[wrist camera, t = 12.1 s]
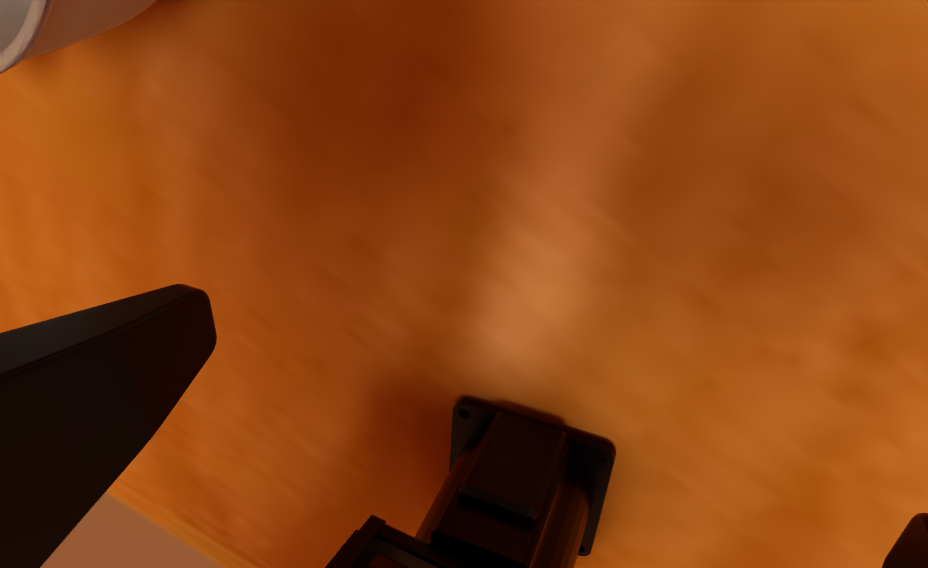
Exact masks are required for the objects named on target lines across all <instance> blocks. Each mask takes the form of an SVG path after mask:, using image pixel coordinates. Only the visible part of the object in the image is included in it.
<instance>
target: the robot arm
mask: <svg viewBox="0 0 928 568" xmlns="http://www.w3.org/2000/svg"><path fill="white" fill-rule="evenodd" d="M216 339H217V335H216V329H215V324H214V319H213V314H212V309H211V304H210V299H209V297H208V295H207V294H206V292H204V291H203V290H201V289H197V288H194V287H191V286H188V285H184V284H175V285H171V286H167V287H164V288H160V289H157V290H153V291H149V292H146V293H142V294H139V295H135V296H132V297H128V298H124V299H121V300H117V301H114V302H110V303H107V304H103V305H99V306H96V307H92V308H89V309H85V310H82V311H78V312H74V313H71V314H67V315H64V316H60V317H56V318H53V319H49V320H46V321H42V322H39V323H35V324H31V325H28V326H24V327H21V328H17V329H14V330H10V331H6V332H3V333H0V568H40V567H41V566H42V565H43V564H44V562H45V561H46V560H47V559H48V558H49V557H50V556H51V554H52V553H53V552H54V551H55V550H56V548H57V547H58V546H59V545H60V544H61V543H62V542H63V540H64V539H65V538H66V537H67V536H68V535H69V534H70V532H71V531H72V530H73V529H74V528H75V527H76V525H77V524H78V523H79V522H80V521H81V519H82V518H83V517H84V516H85V515H86V514H87V513H88V511H89V510H90V509H91V508H92V507H93V506H94V505H95V503H96V502H97V501H98V500H99V499H100V497H101V496H102V495H103V494H104V493H105V492H106V491H107V489H108V488H109V487H110V486H111V485H112V484H113V483H114V481H115V480H116V479H117V478H118V477H119V476H120V474H121V473H122V472H123V471H124V470H125V469H126V467H127V466H128V465H129V464H130V463H131V462H132V460H133V459H134V458H135V457H136V456H137V455H138V454H139V452H140V451H141V450H142V449H143V448H144V446H145V445H146V444H147V443H148V442H149V440H150V439H151V438H152V437H153V435H154V434H155V433H156V431H157V430H158V429H159V427H160V426H161V425H162V423H163V422H164V421H165V419H166V418H167V416H168V415H169V413H170V412H171V411H172V409H173V408H174V406H175V405H176V404H177V402H178V401H179V399H180V398H181V396H182V395H183V394H184V392H185V391H186V389H187V388H188V387H189V385H190V384H191V382H192V381H193V379H194V378H195V377H196V375H197V374H198V372H199V371H200V370H201V368H202V367H203V365H204V364H205V362H206V361H207V360H208V358H209V357H210V355H211V354H212V352H213V350H214V348H215V345H216ZM464 409H465V410H467V411H469V412H467V411H465V410H464ZM598 453H602V454H604V455H605V456H602V455H600V454H598ZM615 456H616V451H615V449H614V447H613V446H612V445H611V444H609V443H607V442H605V441H602V440H598V439H595V438H592V437H589V436H586V435H583V434H580V433H576V432H573V431H570V430H567V429H564V428H561V427H557V426H554V425H551V424H548V423H545V422H542V421H539V420H535V419H532V418H529V417H526V416H523V415H520V414H517V413H513V412H510V411H507V410H504V409H501V408H498V407H495V406H491V405H488V404H485V403H482V402H479V401H476V400H473V399H469V398H461V399H459V400H458V401H457V403H456V405H455V406H454V409H453V419H452V436H451V453H450V470H449V474H448V476H447V478H446V480H445V482H444V484H443V485H442V487H441V489H440V491H439V493H438V495H437V497H436V498H435V500H434V502H433V504H432V506H431V508H430V509H429V511H428V513H427V515H426V517H425V519H424V521H423V522H422V524H421V526H420V528H419V530H418V532H417V534H416V535H415V537H412V536H410V535H408V534H406V533H404V532H402V531H400V530H397V529H395V528H393V527H391V526H389V525H387V524H386V521H385V520H383V519H380V518H378V517H376V516H374V515H371V516H370V518H369V519H368V520H367V521H366V523H365V524H364V525H363V526H362V527H361V529H360V530H359V531H358V530H355V532H354V533H353V534H352V535H351V536H350V538H349V539H348V540H347V541H346V543H345V544H344V545H343V546H342V547H341V549H340V550H339V551H338V552H337V554H336V555H335V556H334V557H333V558H332V560H331V561H330V562H329V563H328V565H327V566H326V567H325V568H574V565H575V561H576V558H577V555H579V556H587V555H589V554H590V552H591V549H592V546H593V542H594V538H595V534H596V530H597V526H598V522H599V518H600V515H601V511H602V507H603V503H604V499H605V495H606V491H607V487H608V484H609V480H610V476H611V472H612V468H613V464H614V460H615ZM882 568H928V513H919V514H917V515H915V516H914V517H913V518H912V519H911V520H910V522H909V523H908V525H907V526H906V528H905V529H904V531H903V532H902V534H901V535H900V537H899V538H898V540H897V541H896V543H895V544H894V546H893V547H892V549H891V550H890V552H889V553H888V555H887V556H886V558H885V560H884V563H883V566H882Z"/></svg>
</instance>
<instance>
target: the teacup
mask: <svg viewBox="0 0 928 568" xmlns="http://www.w3.org/2000/svg"><path fill="white" fill-rule="evenodd" d="M155 1H156V0H0V74H1V73H3V72H5V71H7V70H8V69H10V68H12V67H14V66H15V65H17V64H18V63H19V62H20V61H23V60H26V59H30V58H33V57H36V56H39V55H43V54H46V53H49V52H52V51H54V50H57V49H60V48H63V47H66V46H69V45H72V44H75V43H77V42H80V41H83V40H85V39H88V38H91V37H93V36H96V35H98V34H101V33H103V32H106V31H108V30H110V29H112V28H114V27H117V26H119V25H121V24H123V23H125V22H127V21H129V20H131V19H132V18H134V17H135V16H137V15H139V14H140V13H142V12H143V11H145V10H146V9H147V8H148V7H149V6H151V5H152V4H153V3H154V2H155Z"/></svg>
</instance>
